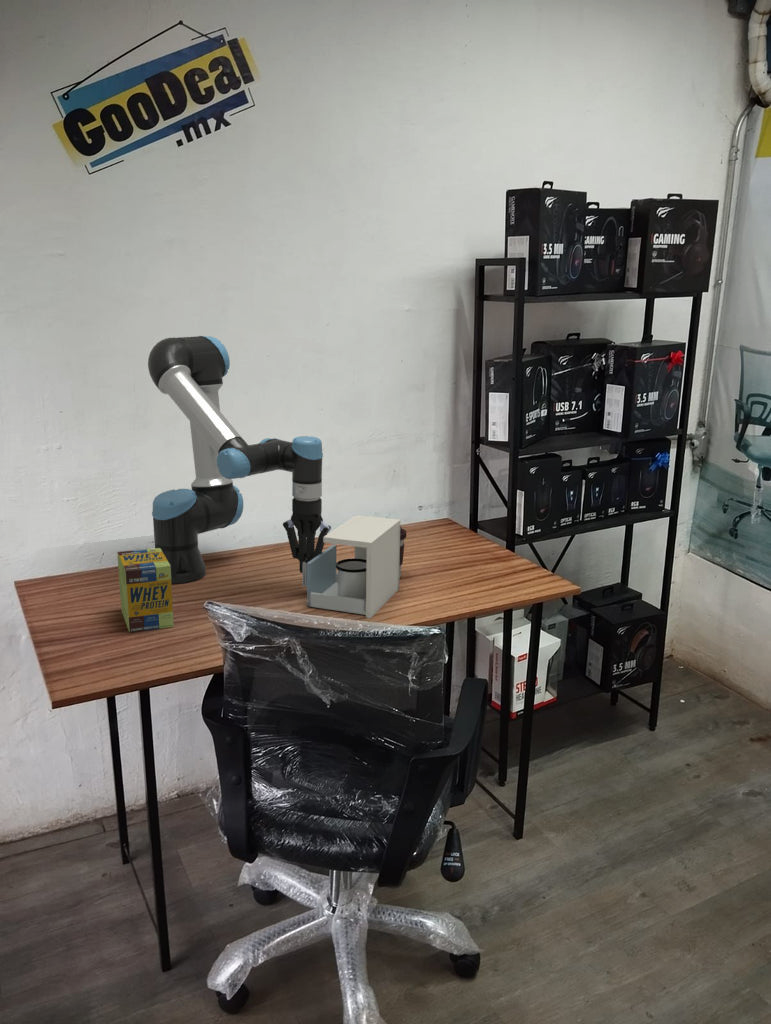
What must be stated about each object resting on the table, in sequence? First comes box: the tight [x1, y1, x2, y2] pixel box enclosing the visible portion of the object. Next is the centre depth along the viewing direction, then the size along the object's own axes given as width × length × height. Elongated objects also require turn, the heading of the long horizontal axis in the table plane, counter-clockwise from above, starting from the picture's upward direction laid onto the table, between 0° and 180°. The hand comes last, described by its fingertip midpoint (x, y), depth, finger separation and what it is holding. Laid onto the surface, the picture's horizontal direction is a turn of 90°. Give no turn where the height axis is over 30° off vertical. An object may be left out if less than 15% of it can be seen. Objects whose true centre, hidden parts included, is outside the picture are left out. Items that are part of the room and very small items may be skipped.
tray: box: [306, 544, 366, 616], centre depth 218 cm, size 16×17×11 cm
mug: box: [336, 557, 367, 600], centre depth 218 cm, size 12×9×9 cm
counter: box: [323, 514, 401, 619], centre depth 217 cm, size 12×22×19 cm, turn 161°
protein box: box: [116, 547, 175, 634], centre depth 203 cm, size 10×15×16 cm
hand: (306, 584), depth 222 cm, fingers closed
